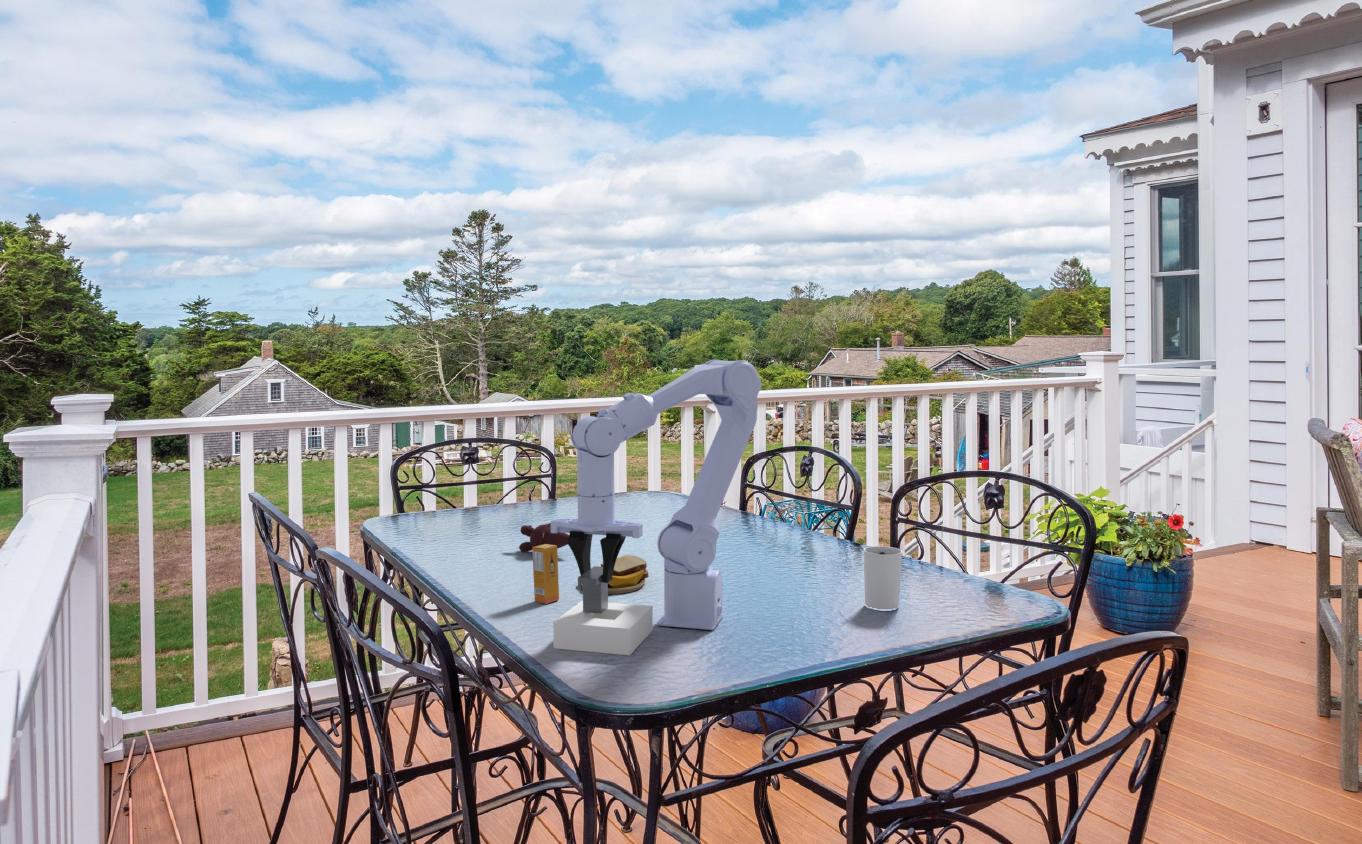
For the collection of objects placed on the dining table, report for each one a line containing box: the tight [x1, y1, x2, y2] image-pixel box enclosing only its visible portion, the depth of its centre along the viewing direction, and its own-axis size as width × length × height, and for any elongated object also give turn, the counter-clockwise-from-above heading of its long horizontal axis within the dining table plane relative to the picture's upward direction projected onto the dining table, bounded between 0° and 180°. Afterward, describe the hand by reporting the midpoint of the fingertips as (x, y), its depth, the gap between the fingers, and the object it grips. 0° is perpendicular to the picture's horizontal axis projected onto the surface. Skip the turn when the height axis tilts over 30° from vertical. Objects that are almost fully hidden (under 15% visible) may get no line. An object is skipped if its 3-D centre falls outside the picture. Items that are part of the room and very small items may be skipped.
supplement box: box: [531, 544, 560, 605], centre depth 159 cm, size 3×3×10 cm
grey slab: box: [577, 565, 609, 614], centre depth 140 cm, size 3×7×6 cm, turn 165°
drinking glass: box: [863, 545, 903, 609], centre depth 156 cm, size 7×7×10 cm
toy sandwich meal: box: [579, 554, 650, 595], centre depth 170 cm, size 12×14×5 cm
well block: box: [552, 599, 654, 656], centre depth 139 cm, size 12×12×4 cm
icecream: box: [518, 522, 570, 552], centre depth 196 cm, size 7×8×15 cm
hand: (596, 580), depth 140 cm, fingers closed on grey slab, 3 cm apart
